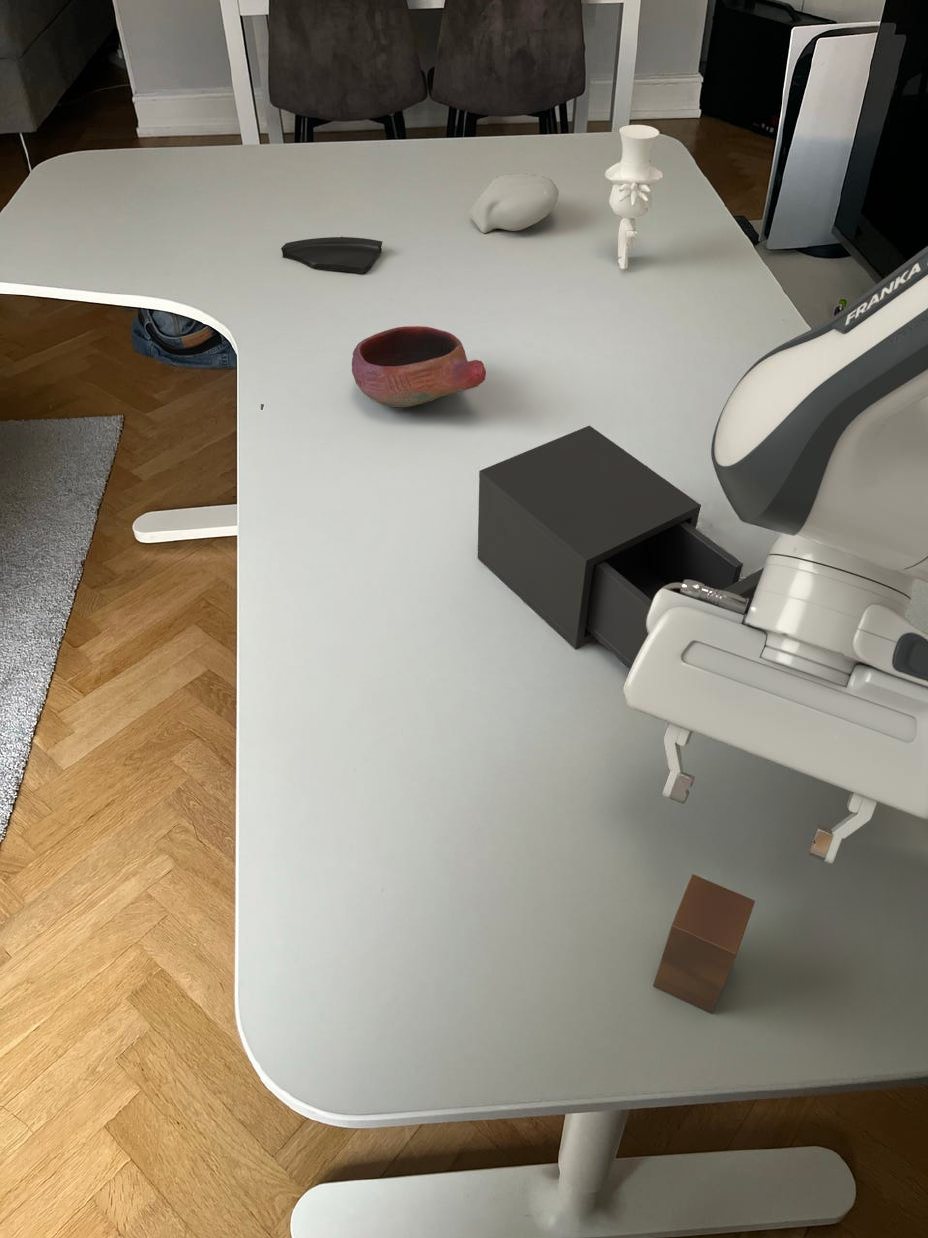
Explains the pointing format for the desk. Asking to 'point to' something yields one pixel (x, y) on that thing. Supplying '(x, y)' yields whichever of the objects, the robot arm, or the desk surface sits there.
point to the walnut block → (703, 943)
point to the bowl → (413, 366)
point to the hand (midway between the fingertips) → (745, 828)
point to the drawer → (655, 584)
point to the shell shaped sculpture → (514, 202)
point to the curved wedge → (334, 253)
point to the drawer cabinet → (569, 521)
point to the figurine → (632, 183)
